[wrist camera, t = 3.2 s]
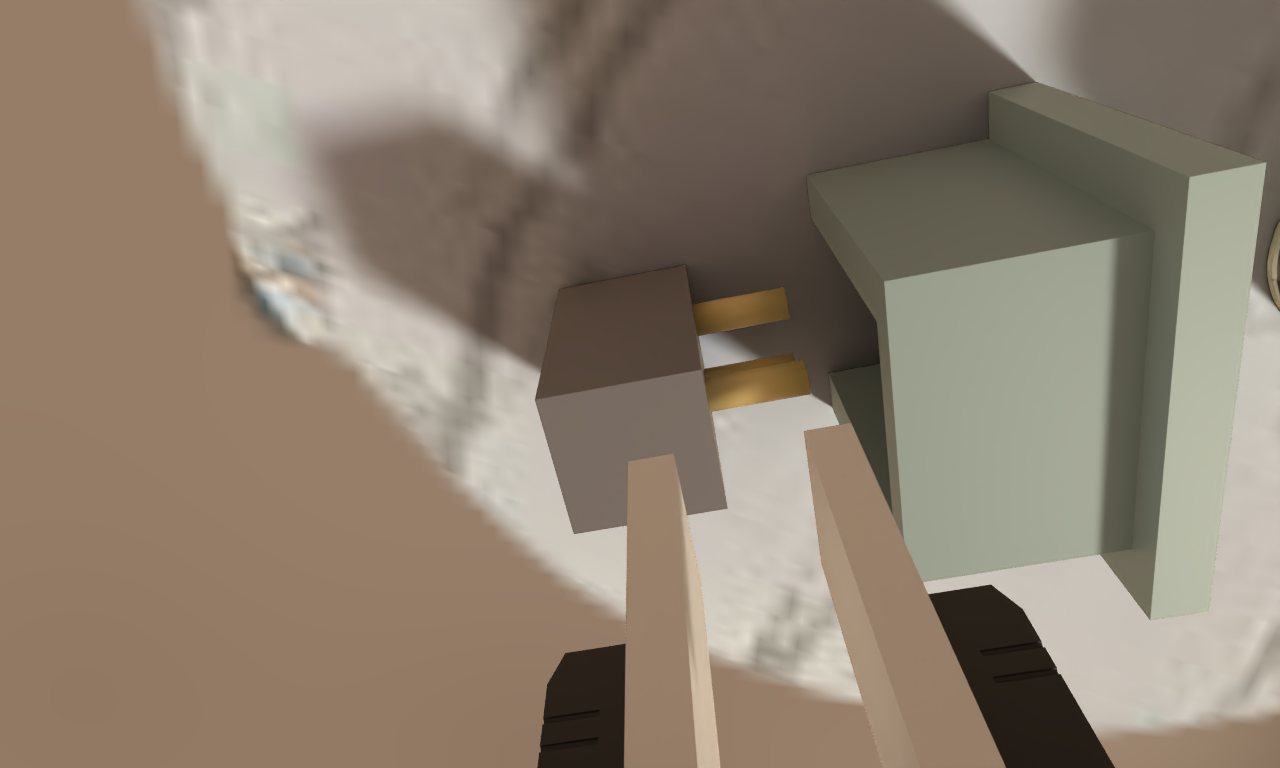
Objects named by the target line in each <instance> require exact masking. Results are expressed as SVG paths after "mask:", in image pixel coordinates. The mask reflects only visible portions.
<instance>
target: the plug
mask: <svg viewBox="0 0 1280 768" xmlns="http://www.w3.org/2000/svg"><path fill="white" fill-rule="evenodd" d="M787 319H789V309H788V303H787V297H786V293H785V290H784V287H781V288H776V289H771V290H766V291H760V292H755V293H750V294H744V295H739V296H734V297H728V298H723V299H718V300H712V301H707V302H702V303H696V304H692V299H691V293H690V288H689V283H688V277H687V272H686V267H685V265H683V266H678V267H672V268H667V269H662V270H657V271H652V272H646V273H641V274H636V275H631V276H626V277H620V278H615V279H610V280H605V281H600V282H594V283H589V284H584V285H579V286H574V287H568V288H563V289H559V292H558V297H557V301H556V306H555V310H554V315H553V320H552V324H551V329H550V333H549V338H548V343H547V347H546V352H545V356H544V361H543V365H542V370H541V375H540V379H539V384H538V388H537V393H536V398H535V402H536V405H537V409H538V412H539V415H540V419H541V422H542V426H543V429H544V433H545V436H546V440H547V443H548V446H549V450H550V453H551V457H552V460H553V464H554V467H555V471H556V474H557V477H558V481H559V484H560V488H561V491H562V495H563V498H564V502H565V505H566V508H567V512H568V515H569V519H570V522H571V526H572V529H573V533H574V534H578V533H584V532H590V531H596V530H602V529H608V528H614V527H620V526H626V525H627V506H628V462H629V461H634V460H640V459H646V458H652V457H658V456H663V455H669V454H674V458H675V463H676V467H677V472H678V477H679V481H680V486H681V490H682V495H683V500H684V504H685V509H686V514H687V515H691V514H697V513H703V512H709V511H715V510H721V509H727V502H726V496H725V490H724V484H723V478H722V472H721V465H720V459H719V453H718V447H717V441H716V435H715V429H714V423H713V416H712V412H713V411H718V410H724V409H730V408H735V407H741V406H747V405H752V404H758V403H764V402H769V401H775V400H781V399H786V398H792V397H798V396H803V395H809V394H810V385H809V378H808V373H807V368H806V365H805V362H804V360H800V361H795V360H794V357H793V354H792V353H790V354H784V355H779V356H773V357H768V358H762V359H757V360H751V361H746V362H740V363H735V364H729V365H724V366H718V367H713V368H707V369H704V363H703V358H702V353H701V347H700V342H699V337H698V336H700V335H706V334H711V333H717V332H722V331H727V330H733V329H738V328H744V327H749V326H754V325H760V324H765V323H771V322H776V321H782V320H787Z"/></svg>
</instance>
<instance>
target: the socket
mask: <svg viewBox="0 0 1280 768" xmlns="http://www.w3.org/2000/svg"><path fill="white" fill-rule="evenodd" d="M988 99H989V139H985V140H980V141H975V142H970V143H965V144H960V145H955V146H950V147H945V148H940V149H935V150H930V151H925V152H920V153H915V154H910V155H905V156H900V157H895V158H890V159H885V160H880V161H875V162H870V163H864V164H859V165H854V166H849V167H844V168H839V169H834V170H829V171H824V172H819V173H814V174H809V175H806V179H807V187H808V196H809V205H810V214H811V219H812V221H813V222H814V224H815V225H816V227H817V229H818V230H819V232H820V233H821V235H822V236H823V238H824V240H825V241H826V243H827V244H828V246H829V247H830V249H831V251H832V252H833V254H834V255H835V257H836V258H837V260H838V262H839V263H840V265H841V266H842V268H843V269H844V271H845V272H846V274H847V276H848V277H849V279H850V280H851V282H852V283H853V285H854V287H855V288H856V290H857V291H858V293H859V294H860V296H861V298H862V299H863V301H864V302H865V304H866V305H867V307H868V309H869V310H870V312H871V313H872V315H873V316H874V318H875V320H876V321H877V330H878V342H879V355H880V364H877V365H871V366H866V367H860V368H855V369H849V370H843V371H838V372H832V373H829V382H830V391H831V399H832V408H833V410H834V413H835V415H836V417H837V420H838V422H839V425H842V424H848V423H851V424H852V426H853V428H854V431H855V433H856V435H857V437H858V439H859V442H860V444H861V446H862V448H863V451H864V453H865V455H866V457H867V459H868V462H869V464H870V466H871V468H872V471H873V473H874V475H875V477H876V480H877V482H878V484H879V486H880V488H881V491H882V493H883V495H884V497H885V500H886V502H887V504H888V506H889V508H890V511H891V513H892V515H893V517H894V520H895V522H896V524H897V526H898V528H899V531H900V533H901V535H902V537H903V540H904V542H905V544H906V546H907V549H908V551H909V553H910V555H911V557H912V560H913V562H914V564H915V566H916V569H917V571H918V573H919V575H920V577H921V580H922V582H926V581H933V580H939V579H946V578H952V577H958V576H965V575H971V574H977V573H984V572H990V571H997V570H1003V569H1009V568H1016V567H1022V566H1028V565H1035V564H1041V563H1048V562H1054V561H1060V560H1067V559H1073V558H1079V557H1086V556H1092V555H1099V554H1100V555H1101V556H1102V557H1103V559H1104V560H1105V561H1106V563H1107V564H1108V565H1109V567H1110V568H1111V569H1112V571H1113V572H1114V573H1115V575H1116V576H1117V577H1118V578H1119V580H1120V581H1121V582H1122V584H1123V585H1124V586H1125V588H1126V589H1127V590H1128V592H1129V593H1130V594H1131V596H1132V597H1133V598H1134V600H1135V601H1136V602H1137V604H1138V605H1139V606H1140V607H1141V609H1142V610H1143V611H1144V613H1145V614H1146V615H1147V617H1148V618H1149V619H1150V620H1156V619H1163V618H1169V617H1176V616H1183V615H1189V614H1196V613H1203V612H1209V607H1210V599H1211V591H1212V583H1213V576H1214V568H1215V560H1216V552H1217V544H1218V537H1219V529H1220V521H1221V513H1222V505H1223V498H1224V490H1225V482H1226V474H1227V466H1228V459H1229V451H1230V443H1231V435H1232V427H1233V420H1234V412H1235V404H1236V396H1237V388H1238V381H1239V373H1240V365H1241V357H1242V349H1243V342H1244V334H1245V326H1246V318H1247V311H1248V303H1249V295H1250V287H1251V279H1252V272H1253V264H1254V256H1255V248H1256V240H1257V233H1258V225H1259V217H1260V209H1261V201H1262V194H1263V186H1264V178H1265V170H1266V162H1264V161H1261V160H1258V159H1255V158H1253V157H1250V156H1247V155H1244V154H1241V153H1238V152H1235V151H1232V150H1230V149H1227V148H1224V147H1221V146H1218V145H1215V144H1212V143H1210V142H1207V141H1204V140H1201V139H1198V138H1195V137H1192V136H1190V135H1187V134H1184V133H1181V132H1178V131H1175V130H1172V129H1169V128H1167V127H1164V126H1161V125H1158V124H1155V123H1152V122H1149V121H1147V120H1144V119H1141V118H1138V117H1135V116H1132V115H1129V114H1127V113H1124V112H1121V111H1118V110H1115V109H1112V108H1109V107H1106V106H1104V105H1101V104H1098V103H1095V102H1092V101H1089V100H1086V99H1084V98H1081V97H1078V96H1075V95H1072V94H1069V93H1066V92H1064V91H1061V90H1058V89H1055V88H1052V87H1049V86H1046V85H1043V84H1041V83H1038V82H1034V83H1029V84H1024V85H1019V86H1014V87H1009V88H1004V89H999V90H994V91H990V92H988Z"/></svg>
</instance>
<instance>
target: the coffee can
mask: <svg viewBox="0 0 1280 768" xmlns="http://www.w3.org/2000/svg"><path fill="white" fill-rule="evenodd" d="M1267 276H1268V283H1269V288H1270V291H1271V294H1272V296H1273V300H1274V302H1275V303H1276V305H1277V306H1278V307H1279V309H1280V221H1279V223H1278V225H1277V227H1276V229H1275V233H1274V237H1273V239H1272V243H1271V246H1270V250H1269V256H1268V261H1267Z"/></svg>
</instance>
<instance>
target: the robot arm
mask: <svg viewBox="0 0 1280 768" xmlns="http://www.w3.org/2000/svg"><path fill="white" fill-rule="evenodd" d="M804 436H805V443H806V451H807V458H808V466H809V473H810V481H811V488H812V496H813V504H814V511H815V519H816V526H817V534H818V541H819V549H820V556H821V564H822V567H823V570H824V574H825V577H826V580H827V584H828V587H829V590H830V594H831V597H832V600H833V604H834V607H835V610H836V614H837V617H838V620H839V624H840V627H841V630H842V634H843V637H844V640H845V644H846V647H847V650H848V654H849V657H850V660H851V664H852V667H853V670H854V674H855V677H856V680H857V684H858V687H859V690H860V694H861V697H862V700H863V704H864V707H865V710H866V714H867V717H868V720H869V724H870V727H871V730H872V733H873V737H874V740H875V743H876V747H877V750H878V753H879V757H880V760H881V764H882V767H883V768H1115V767H1114V765H1113V764H1112V762H1111V760H1110V759H1109V757H1108V755H1107V753H1106V752H1105V750H1104V748H1103V747H1102V745H1101V743H1100V741H1099V740H1098V738H1097V736H1096V734H1095V733H1094V731H1093V729H1092V728H1091V726H1090V724H1089V722H1088V721H1087V719H1086V717H1085V716H1084V714H1083V712H1082V710H1081V709H1080V707H1079V705H1078V703H1077V702H1076V700H1075V698H1074V697H1073V695H1072V693H1071V691H1070V690H1069V688H1068V686H1067V685H1066V683H1065V681H1064V679H1063V678H1062V676H1061V674H1058V672H1057V667H1056V666H1055V664H1054V662H1053V660H1052V659H1051V657H1050V655H1049V654H1048V652H1047V650H1046V648H1045V647H1044V648H1043V646H1042V643H1041V640H1040V638H1039V636H1038V635H1037V633H1036V631H1035V629H1034V628H1033V626H1032V624H1031V623H1030V621H1029V619H1028V617H1027V616H1026V614H1025V612H1024V611H1023V609H1022V608H1020V607H1019V606H1018V605H1016V604H1015V603H1014V602H1013V601H1011V600H1010V599H1009V598H1007V597H1006V596H1005V595H1004V594H1002V593H1001V592H1000V591H998V590H997V589H996V588H995V587H993V586H992V585H985V586H979V587H973V588H966V589H960V590H953V591H947V592H940V593H934V594H928V593H927V591H926V589H925V586H924V584H923V582H922V580H921V577H920V575H919V573H918V571H917V569H916V566H915V564H914V562H913V560H912V557H911V555H910V553H909V551H908V549H907V546H906V544H905V542H904V540H903V537H902V535H901V533H900V531H899V528H898V526H897V524H896V522H895V520H894V517H893V515H892V513H891V511H890V508H889V506H888V504H887V502H886V500H885V497H884V495H883V493H882V491H881V488H880V486H879V484H878V482H877V480H876V477H875V475H874V473H873V471H872V468H871V466H870V464H869V462H868V459H867V457H866V455H865V453H864V451H863V448H862V446H861V444H860V442H859V439H858V437H857V435H856V433H855V431H854V428H853V426H852V424H851V423H848V424H842V425H836V426H830V427H825V428H819V429H813V430H807V431H804ZM540 747H541V753H539V760H538V768H720V759H719V749H718V739H717V730H716V720H715V711H714V701H713V692H712V682H711V672H710V662H709V653H708V643H707V633H706V624H705V614H704V604H703V595H702V585H701V579H700V574H699V570H698V565H697V560H696V556H695V551H694V546H693V542H692V537H691V532H690V528H689V523H688V518H687V514H686V509H685V504H684V500H683V495H682V490H681V486H680V481H679V477H678V472H677V467H676V463H675V458H674V454H669V455H663V456H658V457H652V458H646V459H640V460H634V461H629V462H628V506H627V582H626V644H621V645H615V646H609V647H602V648H596V649H590V650H583V651H577V652H570V653H565V655H564V657H563V659H562V660H561V662H560V664H559V665H558V667H557V669H556V671H555V672H554V674H553V676H552V678H551V679H550V681H549V683H548V684H547V691H546V700H545V708H544V724H543V726H542V734H541V742H540Z"/></svg>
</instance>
